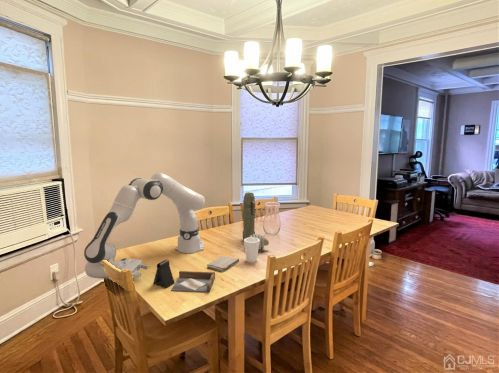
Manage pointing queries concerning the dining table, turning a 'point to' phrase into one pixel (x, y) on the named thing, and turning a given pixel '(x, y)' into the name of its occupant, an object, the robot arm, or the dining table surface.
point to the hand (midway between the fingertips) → (144, 271)
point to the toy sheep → (262, 241)
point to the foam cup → (251, 248)
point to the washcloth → (222, 263)
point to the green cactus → (248, 215)
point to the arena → (194, 281)
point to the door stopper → (163, 275)
